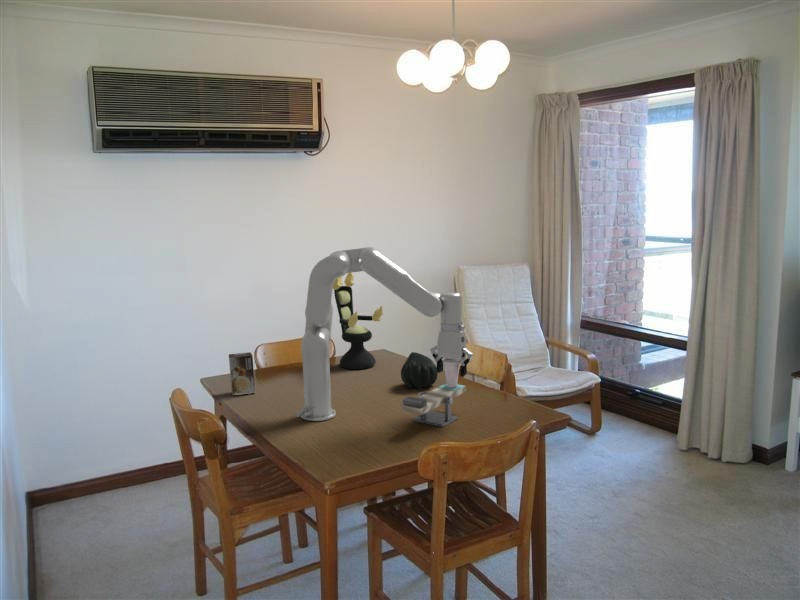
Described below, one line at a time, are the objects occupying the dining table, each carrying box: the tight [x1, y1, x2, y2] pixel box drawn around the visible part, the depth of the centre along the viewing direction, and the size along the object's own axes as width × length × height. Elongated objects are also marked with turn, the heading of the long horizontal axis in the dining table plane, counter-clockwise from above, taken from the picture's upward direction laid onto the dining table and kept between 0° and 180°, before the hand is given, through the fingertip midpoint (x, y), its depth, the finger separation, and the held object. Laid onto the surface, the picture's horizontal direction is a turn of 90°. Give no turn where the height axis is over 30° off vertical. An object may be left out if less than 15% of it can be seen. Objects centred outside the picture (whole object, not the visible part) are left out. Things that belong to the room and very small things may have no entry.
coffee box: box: [228, 351, 256, 395], centre depth 268 cm, size 9×6×16 cm
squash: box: [400, 351, 438, 390], centre depth 273 cm, size 14×15×15 cm
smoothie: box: [442, 358, 461, 388], centre depth 239 cm, size 6×6×14 cm
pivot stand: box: [412, 391, 458, 428], centre depth 232 cm, size 10×14×9 cm
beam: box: [401, 383, 467, 416], centre depth 232 cm, size 29×8×4 cm, turn 144°
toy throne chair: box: [332, 272, 384, 370], centre depth 306 cm, size 19×22×45 cm
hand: (451, 373), depth 240 cm, fingers open, 9 cm apart
